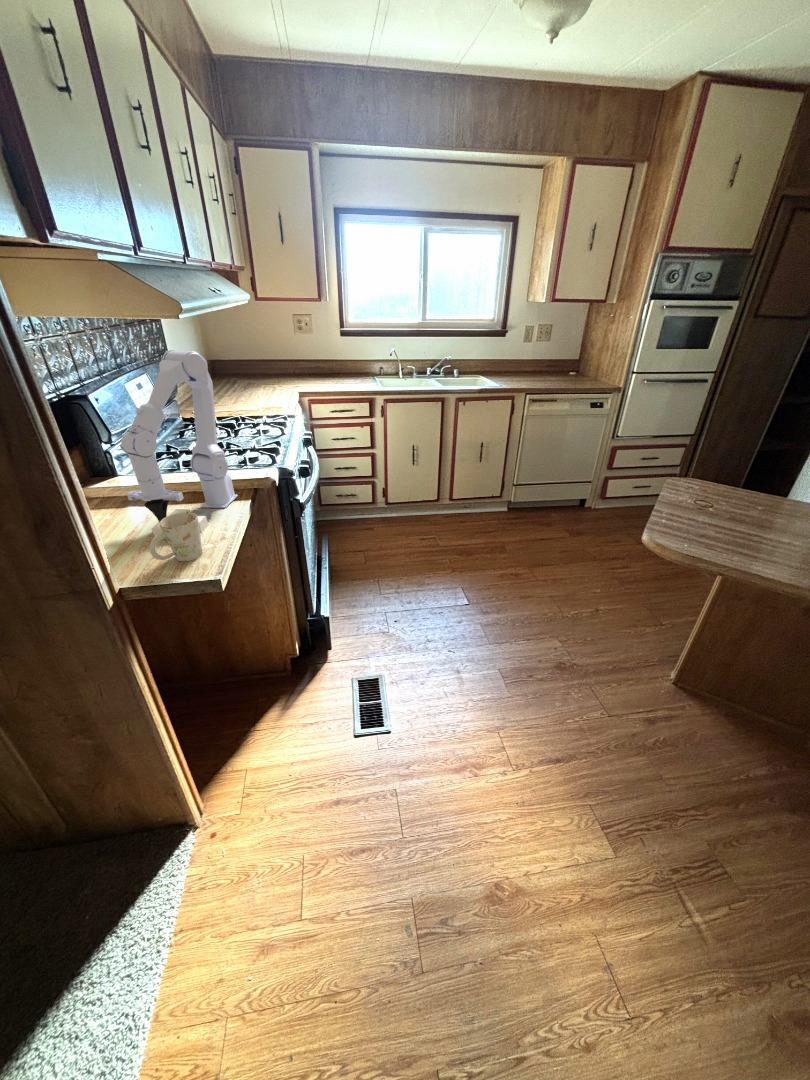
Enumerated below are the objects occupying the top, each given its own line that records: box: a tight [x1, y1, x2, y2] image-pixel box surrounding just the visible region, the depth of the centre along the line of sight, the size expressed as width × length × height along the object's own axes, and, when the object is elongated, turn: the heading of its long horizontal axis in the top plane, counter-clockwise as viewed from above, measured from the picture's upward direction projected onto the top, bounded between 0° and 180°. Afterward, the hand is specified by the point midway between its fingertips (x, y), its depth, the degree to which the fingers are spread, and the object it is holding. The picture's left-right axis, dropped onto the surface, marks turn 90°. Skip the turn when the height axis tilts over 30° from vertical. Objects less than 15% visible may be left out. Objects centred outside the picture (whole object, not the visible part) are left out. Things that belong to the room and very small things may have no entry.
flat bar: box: [164, 509, 212, 543], centre depth 119 cm, size 16×5×2 cm, turn 176°
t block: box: [151, 508, 209, 537], centre depth 119 cm, size 12×11×3 cm
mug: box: [149, 511, 203, 562], centre depth 103 cm, size 8×13×10 cm, turn 149°
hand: (164, 523), depth 119 cm, fingers closed
